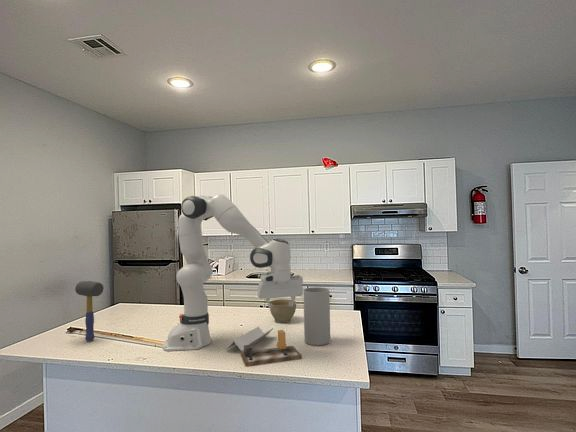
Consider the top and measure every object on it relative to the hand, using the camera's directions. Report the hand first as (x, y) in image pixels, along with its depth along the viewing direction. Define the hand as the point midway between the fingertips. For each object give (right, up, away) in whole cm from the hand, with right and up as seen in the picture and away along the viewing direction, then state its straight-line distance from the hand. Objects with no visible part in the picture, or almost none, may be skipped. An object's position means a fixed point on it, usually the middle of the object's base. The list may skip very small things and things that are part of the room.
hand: (280, 307), depth 152 cm
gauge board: (-4, -21, -4) cm, 21 cm away
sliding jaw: (+1, -18, -3) cm, 19 cm away
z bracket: (-14, -21, +12) cm, 28 cm away
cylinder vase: (+18, -21, +14) cm, 31 cm away
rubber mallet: (-96, -23, +20) cm, 101 cm away
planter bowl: (0, -21, +50) cm, 54 cm away
